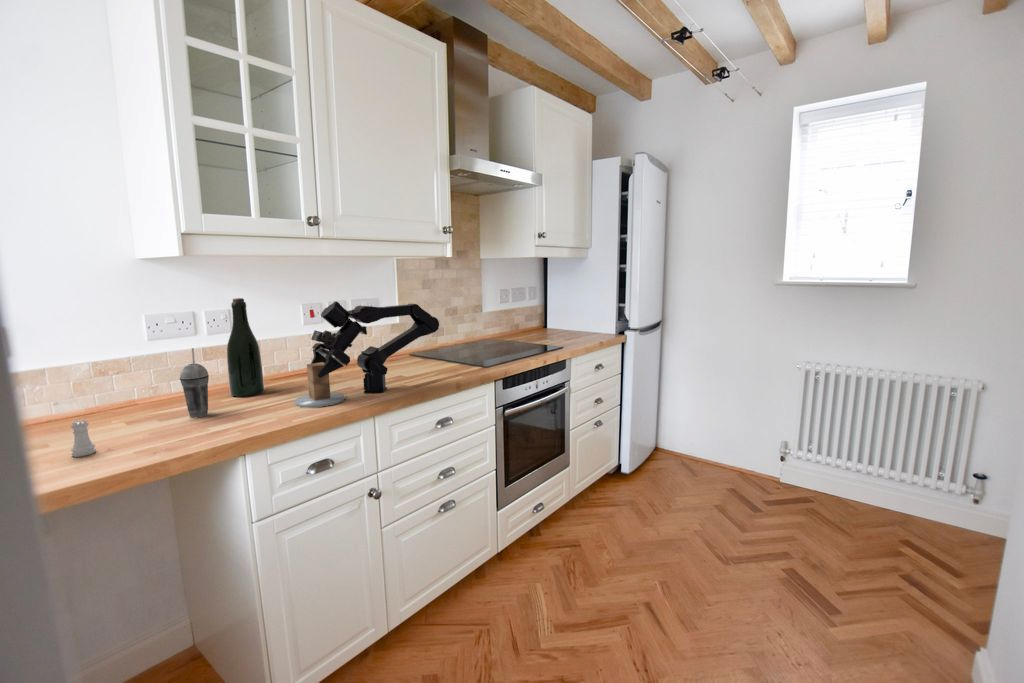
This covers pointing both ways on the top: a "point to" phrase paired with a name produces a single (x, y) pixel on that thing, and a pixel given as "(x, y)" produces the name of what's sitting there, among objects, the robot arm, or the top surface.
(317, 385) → the walnut block
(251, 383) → the beer bottle
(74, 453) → the rook chess piece
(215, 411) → the top surface
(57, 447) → the top surface
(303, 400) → the slate dish
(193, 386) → the beverage cup
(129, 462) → the top surface
